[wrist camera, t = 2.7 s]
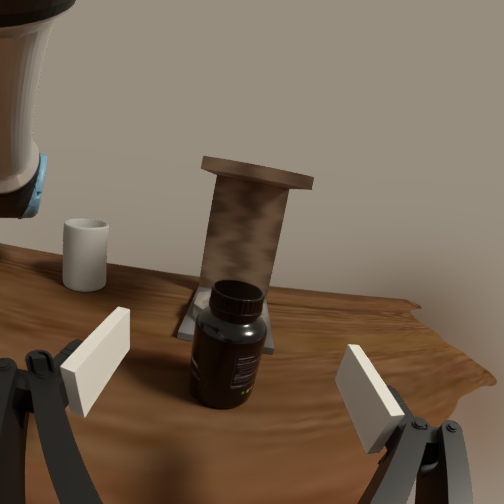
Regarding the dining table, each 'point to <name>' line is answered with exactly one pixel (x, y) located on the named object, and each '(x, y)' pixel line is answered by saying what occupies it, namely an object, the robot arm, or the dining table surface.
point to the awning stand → (242, 231)
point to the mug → (85, 254)
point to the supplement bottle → (227, 344)
